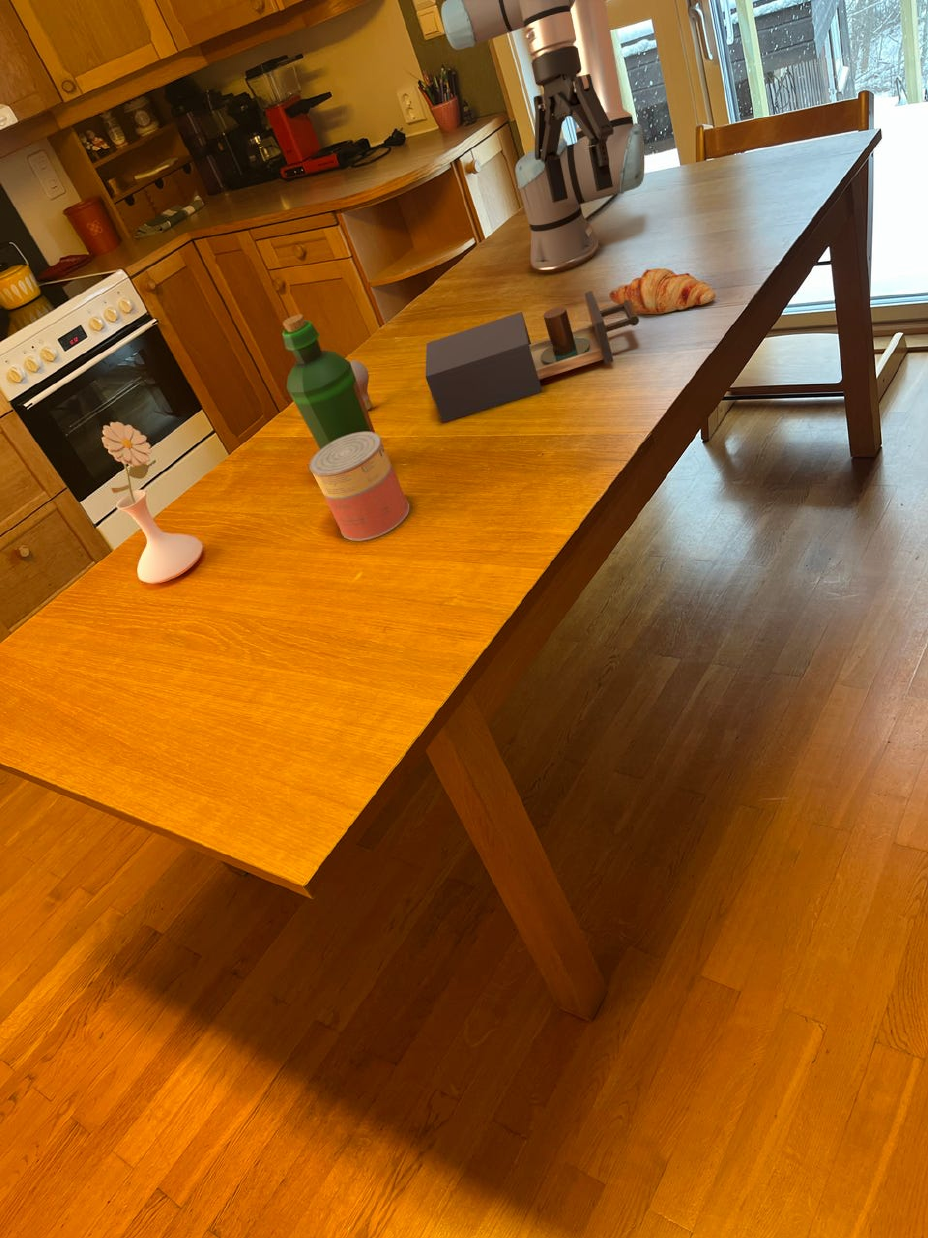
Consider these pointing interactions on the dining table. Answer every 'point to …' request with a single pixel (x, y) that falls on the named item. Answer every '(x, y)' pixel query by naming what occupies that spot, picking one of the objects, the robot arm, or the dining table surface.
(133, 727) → the dining table surface
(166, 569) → the flower in vase
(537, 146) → the robot arm
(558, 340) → the lid
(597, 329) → the drawer
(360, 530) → the canned food
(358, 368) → the light bulb
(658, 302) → the croissant
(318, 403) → the bottle
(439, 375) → the cabinet
